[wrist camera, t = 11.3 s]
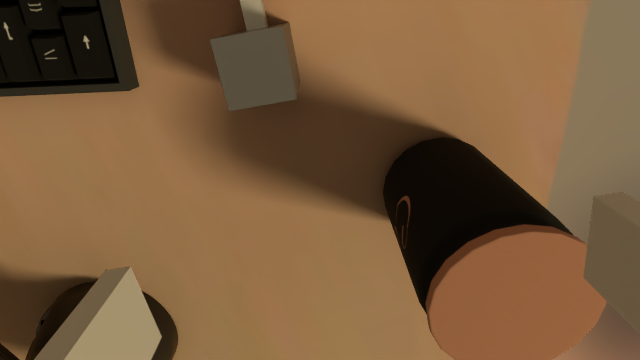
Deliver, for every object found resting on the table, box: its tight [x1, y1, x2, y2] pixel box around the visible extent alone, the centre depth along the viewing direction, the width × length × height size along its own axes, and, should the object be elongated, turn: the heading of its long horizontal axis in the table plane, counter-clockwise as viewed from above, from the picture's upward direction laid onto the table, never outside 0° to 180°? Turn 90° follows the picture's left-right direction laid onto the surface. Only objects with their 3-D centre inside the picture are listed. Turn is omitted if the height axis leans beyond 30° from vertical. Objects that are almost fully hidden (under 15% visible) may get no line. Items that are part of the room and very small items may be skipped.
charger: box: [210, 0, 300, 111], centre depth 30 cm, size 5×9×8 cm, turn 10°
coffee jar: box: [383, 138, 607, 360], centre depth 31 cm, size 11×11×18 cm
